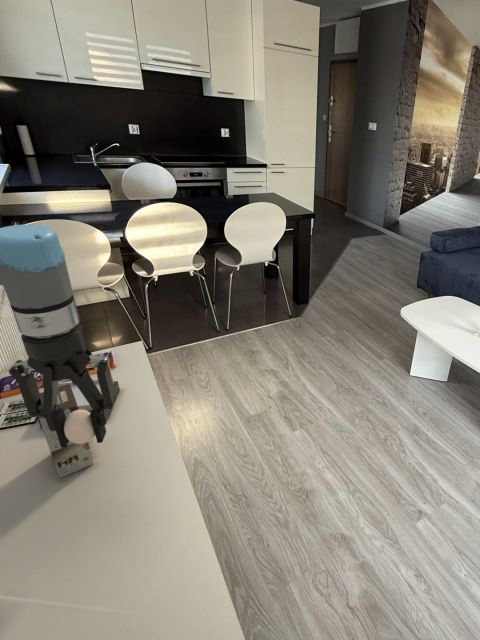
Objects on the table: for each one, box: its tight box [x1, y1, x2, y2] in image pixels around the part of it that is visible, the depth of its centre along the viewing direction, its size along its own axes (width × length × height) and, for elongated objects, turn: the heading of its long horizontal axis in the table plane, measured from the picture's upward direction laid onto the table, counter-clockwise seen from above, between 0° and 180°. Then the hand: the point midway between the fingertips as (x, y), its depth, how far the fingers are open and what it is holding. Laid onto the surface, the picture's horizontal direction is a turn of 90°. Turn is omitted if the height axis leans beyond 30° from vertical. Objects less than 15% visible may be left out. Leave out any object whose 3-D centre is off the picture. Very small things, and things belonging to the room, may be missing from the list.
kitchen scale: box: [37, 377, 121, 429], centre depth 99 cm, size 14×12×5 cm
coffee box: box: [37, 384, 94, 479], centre depth 83 cm, size 9×6×16 cm
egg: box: [64, 410, 96, 444], centre depth 70 cm, size 5×5×7 cm
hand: (84, 439), depth 71 cm, fingers closed on egg, 5 cm apart
